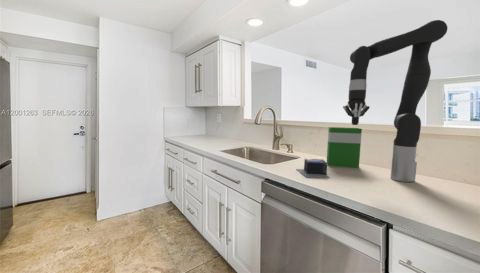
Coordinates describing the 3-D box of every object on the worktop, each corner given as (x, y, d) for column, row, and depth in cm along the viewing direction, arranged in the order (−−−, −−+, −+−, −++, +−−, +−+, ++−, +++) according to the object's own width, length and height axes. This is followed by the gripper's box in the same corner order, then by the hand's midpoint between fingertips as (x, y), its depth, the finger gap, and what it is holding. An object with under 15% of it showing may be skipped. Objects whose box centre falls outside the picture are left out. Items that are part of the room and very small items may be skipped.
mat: (316, 169, 129) (316, 169, 129) (329, 177, 113) (329, 176, 113) (296, 169, 128) (296, 169, 128) (306, 177, 112) (306, 176, 112)
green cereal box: (355, 165, 143) (358, 127, 141) (358, 167, 136) (361, 128, 133) (326, 163, 147) (328, 127, 145) (328, 165, 140) (330, 127, 138)
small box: (327, 162, 116) (306, 162, 118) (327, 174, 117) (306, 174, 118) (323, 158, 127) (304, 158, 128) (322, 170, 127) (303, 169, 129)
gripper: (348, 88, 105) (346, 125, 107) (375, 89, 106) (372, 125, 108) (340, 90, 113) (338, 124, 114) (365, 90, 114) (362, 124, 115)
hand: (354, 124), depth 111 cm, fingers closed
